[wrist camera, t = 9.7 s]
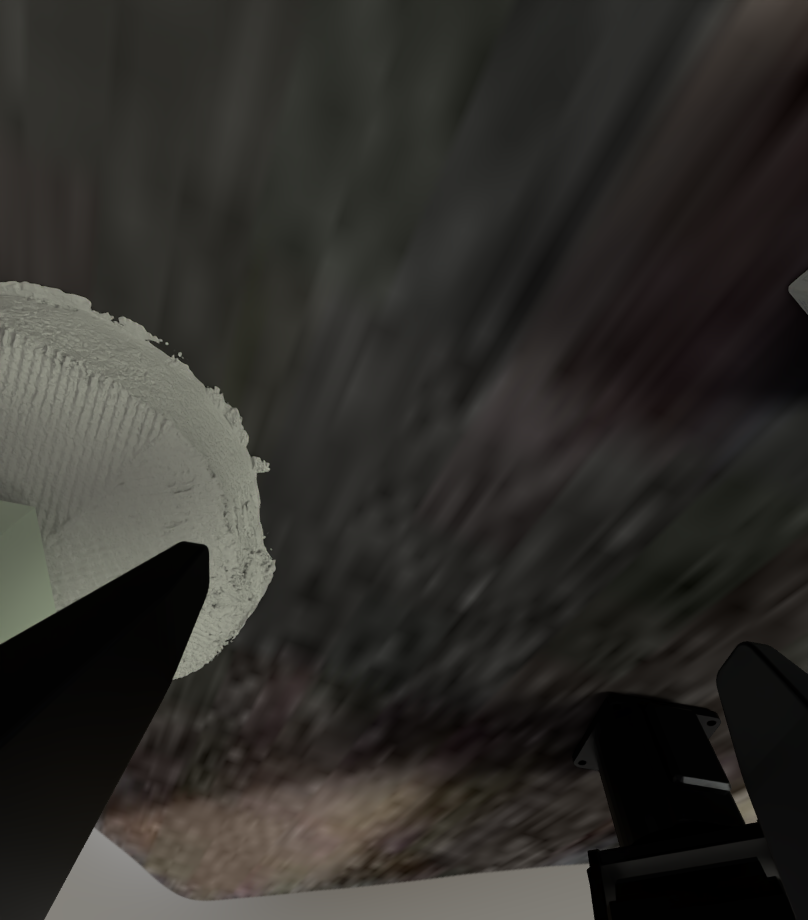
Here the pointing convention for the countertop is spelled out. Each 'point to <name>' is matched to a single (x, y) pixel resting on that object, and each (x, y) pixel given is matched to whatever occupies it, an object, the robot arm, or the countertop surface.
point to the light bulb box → (800, 291)
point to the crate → (22, 571)
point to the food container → (125, 458)
